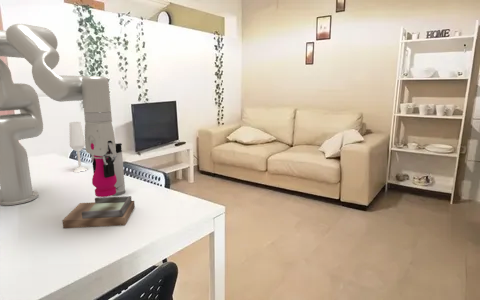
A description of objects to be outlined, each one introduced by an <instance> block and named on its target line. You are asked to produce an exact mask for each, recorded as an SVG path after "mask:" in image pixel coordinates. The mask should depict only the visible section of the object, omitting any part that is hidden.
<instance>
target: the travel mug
mask: <svg viewBox="0 0 480 300" xmlns="http://www.w3.org/2000/svg"><path fill="white" fill-rule="evenodd" d="M115 144H116V153H117V157H116V158H115V161H114V162H115V163H114V172H115V175H116V178H117V182H116V184H115V185H114V186H115V187H116V193H115V194H114V195H112V197H117V196H121V195H123V194H125V193H126V185H125V184H126V182H125V170H124V161H123V158H124V157H123V149H122V146H123V143H121V142H120V143H118V142H117V143H115Z"/></svg>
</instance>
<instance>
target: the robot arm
mask: <svg viewBox="0 0 480 300" xmlns="http://www.w3.org/2000/svg"><path fill="white" fill-rule="evenodd" d="M57 48H58V38H57V36H56V35H55V33H54V32H53V31H52V30H50V29H48V28H46V27H42V26H39V25H38V26H36V25H31V24H27V23H26V24H25V23H16V24H12V25H10V26H9V27H7V29H6V30H3V29H0V57H4V58H5V57H7V58H17V59H19V58H20V59H25V60H26V61H27V62H28V64H30V65H31V76H32V78H33V79H32V80H33V81H34V83H35V86H37V87H38V89H39V90H40V91H42V93H44V94H45V95H46V96H47V97H49V98H50V99H51V100H53V101H56V102H59V103H60V102H61V103H62V102H75V101H76V102H77V101H78V102H79V101H82V103H83V104H82V105H83V112H84V113H83V115H84V123H85V124H84V141H85V146H84V148H85V152H86V153H87V154H89V156H90V159H91V162H92V171H93V173H94V172H95V169H96V160H95V158H94V155H96V156H102V157H103V161H104V164H105V165H103V168H104V177H105V178H108V177H111V176H114V175H115V172H114V163H115V162H114V161H115V158H116V157H117V153H116V144H117V143H116V138H115V131H114V127H113V124H112V122H113V118H112V117H113V116H112V110H111V109H112V108H111V106H112V105H111V95H110V85H109V79H108V78H107V77H106V76H100V75H99V76H98V75H94V76H91V75H87V76H84V75H58V74H57V73H56V72H54V70H53V69H55V68H56V67H58V66H57V65H58V64H59V63H60V54H59V52H58V51H57ZM39 99H40V98H39V96H38V93H37V91H36V90H35V89H34V87H33V86H31V84H28V83H22V82H21V83H19V82H18V83H16V82H15V83H14V81H13V77H12V72H11V70H10V68H9V66H8V65H7V63H5V61H4V60H3V59H2V58H0V112H7V111H8V112H9V111H19V113H8V114H0V205H1V206H14V205H21V204H25V203H28V202H31V201H33V200H36V199H37V198H38V197H39V193H38V192H37V191H35V190H33V185H32V184H33V183H32V177H31V170H30V164H29V163H30V162H29V157H28V152H27V149H26V148H25V147H24V146H23V145H22V144H21V143H20V141H22V140H25V139H26V140H27V139H32V138H33V139H34V138H36V137H39V136H40V135H42V133H43V131H44V121H43V116H42V109H41V104H40V100H39ZM91 143H93V144H94V150H92V149H91ZM108 152H109V154H106V153H108ZM108 156H109V157H108ZM106 157H108V159H107V158H106Z"/></svg>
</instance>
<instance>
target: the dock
mask: <svg viewBox="0 0 480 300" xmlns="http://www.w3.org/2000/svg"><path fill="white" fill-rule="evenodd" d="M132 199H133V198H132V196H131V195H130V196H129V195H126V196H107V197H97V196H96V197H95V198H94V202H80V203H78V204H77V205H76V206H75V207H74V208H73V209H72V210H71V211H70V212H69V213H68V214H67V215H66V216H65V217H64V218H63V219H62V220H61V221H62V223H61V224H62V228H63V229H72V228H73V229H74V228H78V229H79V228H92V227H93V228H95V227H97V228H98V227H111V226H112V227H113V226H126V224H127V222H128V221H129V219H130V217H131V216H132V213H133V211H134V210H135V200H132Z"/></svg>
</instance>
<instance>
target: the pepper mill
mask: <svg viewBox="0 0 480 300" xmlns="http://www.w3.org/2000/svg"><path fill="white" fill-rule="evenodd" d="M91 149H92V150H94V144H93V143H91ZM106 154H109V152H108V153H106ZM108 157H109V156H108ZM108 157H106V158H107V159H108ZM94 158H95V160H96V169H95V172H93V175H92V178H91V184H92V185H93V187H95V189H94V195H95V197H96V198H97V197H113V195H114V194H115V193H116V187H115V186H114V185H115V184H116V182H117V178H116V175H114V176H111V177H108V178H105V177H104V168H103V165H105V164H104V161H103V157H102V156H96V155H94Z"/></svg>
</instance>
